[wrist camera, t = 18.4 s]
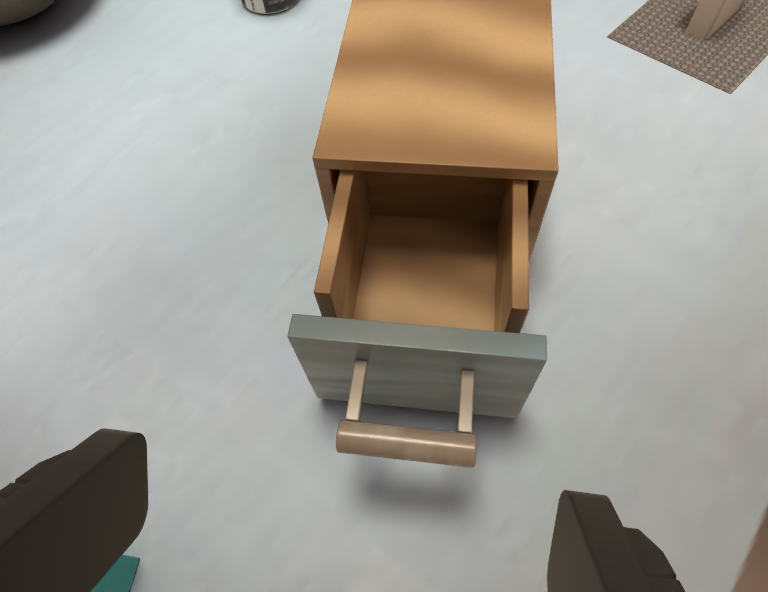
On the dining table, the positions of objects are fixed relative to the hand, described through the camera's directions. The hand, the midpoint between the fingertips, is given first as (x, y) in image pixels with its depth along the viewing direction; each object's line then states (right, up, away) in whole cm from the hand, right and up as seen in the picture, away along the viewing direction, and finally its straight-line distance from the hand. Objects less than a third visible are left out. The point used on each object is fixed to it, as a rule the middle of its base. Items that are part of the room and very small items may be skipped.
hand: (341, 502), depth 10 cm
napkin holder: (+30, +28, +37) cm, 55 cm away
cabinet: (+5, +12, +30) cm, 32 cm away
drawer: (+3, +1, +23) cm, 23 cm away
